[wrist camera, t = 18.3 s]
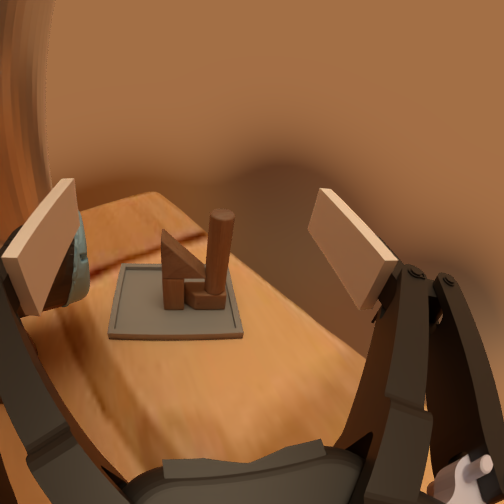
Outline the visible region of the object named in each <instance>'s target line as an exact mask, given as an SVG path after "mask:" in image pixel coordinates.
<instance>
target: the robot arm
mask: <svg viewBox="0 0 504 504" xmlns="http://www.w3.org/2000/svg"><path fill="white" fill-rule="evenodd" d="M54 4H55V0H0V403H3V404H4V406H5V408H6V411H7V413H8V415H9V417H10V419H11V421H12V424H13V426H14V428H15V430H16V432H17V434H18V436H19V438H20V439H21V441H22V443H23V445H24V447H25V449H26V451H27V454H28V456H27V457H26V462H27V465H28V467H29V469H30V471H31V473H32V475H33V476H34V478H35V479H36V481H37V482H38V484H39V485H40V487H41V488H42V490H43V491H44V493H45V494H46V496H47V497H48V498H49V500H50V501H51V503H52V504H495V503H497V502H500V501H502V500H504V420H503V415H502V410H501V405H500V401H499V397H498V393H497V389H496V385H495V381H494V378H493V374H492V371H491V368H490V364H489V361H488V358H487V355H486V352H485V349H484V346H483V343H482V340H481V337H480V335H479V332H478V329H477V327H476V324H475V322H474V319H473V317H472V314H471V312H470V309H469V307H468V305H467V302H466V300H465V298H464V295H463V293H462V291H461V289H460V287H459V285H458V283H457V282H456V281H455V279H454V278H453V277H452V276H451V275H449V274H446V273H439V274H438V276H437V277H436V279H435V281H434V280H429V279H427V277H426V275H425V274H424V273H423V272H422V271H421V270H420V269H419V268H417V267H415V266H413V265H409V264H406V265H404V264H403V263H402V262H401V261H400V259H399V258H398V257H397V256H396V255H395V254H394V253H393V251H392V250H390V248H389V247H388V246H387V245H386V244H385V242H383V240H382V239H381V238H380V237H378V236H377V235H376V234H374V233H373V232H372V231H371V230H370V228H369V227H368V226H367V225H366V224H365V223H364V222H363V221H362V220H361V219H360V218H359V217H358V216H357V215H356V214H355V213H354V212H353V211H352V210H351V209H350V208H349V206H348V205H347V204H345V202H344V201H343V200H341V199H340V197H338V196H337V194H335V193H334V192H333V191H332V190H331V189H324V188H320V189H319V192H318V195H317V199H316V202H315V206H314V210H313V213H312V216H311V220H310V223H309V226H308V231H309V233H310V234H311V236H312V237H313V239H314V240H315V242H316V243H317V245H318V246H319V248H320V249H321V251H322V253H323V254H324V256H325V257H326V259H327V260H328V262H329V263H330V265H331V266H332V268H333V270H334V271H335V273H336V274H337V276H338V277H339V279H340V281H341V282H342V284H343V285H344V287H345V289H346V290H347V292H348V293H349V295H350V296H351V298H352V300H353V302H354V303H355V305H356V306H357V308H358V310H368V309H372V308H373V306H374V305H375V303H376V301H377V300H378V299H379V301H380V302H381V304H382V305H381V307H380V308H379V310H378V312H377V314H376V315H375V317H374V319H373V320H372V323H374V321H375V320H376V323H375V327H374V332H373V336H372V340H371V345H370V348H369V352H368V356H367V359H366V363H365V367H364V370H363V374H362V377H361V380H360V384H359V387H358V390H357V393H356V396H355V399H354V402H353V405H352V408H351V411H350V414H349V417H348V420H347V423H346V425H345V428H344V430H343V433H342V434H341V436H340V437H339V439H338V440H337V442H336V443H335V445H334V446H333V447H329V446H323V443H322V440H321V439H318V440H314V441H310V442H306V443H302V444H298V445H293V446H288V447H285V448H283V449H281V450H279V451H276V452H274V453H272V454H270V455H268V456H265V457H263V458H261V459H258V460H256V461H253V462H251V463H237V462H227V461H219V460H212V459H205V458H199V459H169V460H162V462H163V466H162V467H158V468H154V469H151V470H149V471H146V472H144V473H142V474H140V475H138V476H137V477H136V478H134V479H133V480H131V481H130V482H129V483H128V482H127V481H126V480H125V479H124V478H123V476H122V475H121V474H120V473H119V472H118V471H117V470H116V469H115V468H114V467H113V466H112V465H111V464H110V463H109V462H108V461H107V460H106V459H105V458H104V457H103V456H102V454H101V453H100V452H99V451H98V449H97V448H96V447H95V446H94V444H93V443H92V442H91V441H90V439H89V438H88V437H87V435H86V434H85V433H84V431H83V430H82V429H81V427H80V426H79V424H78V423H77V422H76V420H75V419H74V417H73V416H72V414H71V413H70V411H69V410H68V408H67V407H66V405H65V404H64V402H63V401H62V399H61V397H60V396H59V394H58V392H57V391H56V389H55V387H54V386H53V384H52V382H51V381H50V379H49V377H48V375H47V373H46V372H45V370H44V368H43V366H42V364H41V362H40V360H39V358H38V354H37V350H36V347H35V345H34V343H33V341H32V339H31V337H30V336H29V334H28V333H27V331H26V330H25V329H24V326H23V324H22V322H21V319H20V318H22V317H26V316H29V315H33V316H40V315H41V313H42V312H43V311H47V310H51V309H55V308H58V307H66V306H68V305H69V304H70V303H73V302H76V301H79V300H82V299H83V298H85V297H86V295H87V294H88V291H89V287H90V274H89V263H88V258H87V246H86V238H85V232H84V226H83V221H82V217H81V214H80V212H79V211H78V207H77V198H76V190H75V180H74V178H69V179H61V180H60V182H59V183H58V184H57V185H56V186H55V187H54V188H53V189H52V182H51V175H50V167H49V158H48V147H47V133H46V109H45V108H46V106H45V105H46V104H45V101H46V100H45V99H46V96H45V95H46V94H45V93H46V90H45V89H46V66H47V54H48V44H49V34H50V28H51V21H52V15H53V9H54ZM442 314H443V318H442V321H441V322H440V324H439V322H438V319H439V318H440V317H441V315H442ZM425 392H426V401H427V410H428V411H425V410H424V400H425ZM429 446H430V455H431V464H432V470H433V475H434V479H435V481H433V482H431V483H430V484H429V485H428V487H427V494H426V493H424V492H422V491H420V488H421V484H422V480H423V476H424V471H425V467H426V462H427V457H428V451H429ZM0 504H18V503H17V500H16V497H15V495H14V492H13V489H12V487H11V484H10V482H9V479H8V476H7V473H6V470H5V467H4V464H3V461H2V457H1V454H0Z"/></svg>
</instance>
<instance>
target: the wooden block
mask: <svg viewBox="0 0 504 504" xmlns="http://www.w3.org/2000/svg"><path fill="white" fill-rule="evenodd" d="M234 220H235V215H234V213H233V212H232V211H230V210H227V209H215V210H213V211H212V212H211V214H210V222H209V233H208V244H207V256H206V268H205V265H204V264H203V263H202V262H201V261H200V260H198V259H197V258H196V257H195V256H194V255H193V254H191V253H190V252H189V251H188V250H187V249H186V248H185V247H183V246H182V245H181V244H180V243H179V242H178V241H177V240H176V239H174V238H173V237H172V236H171V235H170V234H169V233H168V232H167V231H165V230H164V229H162V236H161V263H162V288H163V304H164V309H165V310H183V309H184V302H185V303H186V304H187V305H189V306H190V307H192V308H193V309H196V310H204V309H225V304H226V297H227V294H226V289H225V285H226V277H227V270H228V263H229V255H230V248H231V241H232V234H233V227H234ZM184 279H205V282H185V283H184Z"/></svg>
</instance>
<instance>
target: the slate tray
mask: <svg viewBox="0 0 504 504" xmlns="http://www.w3.org/2000/svg"><path fill="white" fill-rule="evenodd" d="M204 265H205V268H206V264H204ZM185 282H205V279H184V283H185ZM225 289H226V294H227V297H226V304H225V309H204V310H196V309H193V308H192V307H190V306H189V305H187V304H186V303H185V302H184V309H183V310H165V309H164V304H163V288H162V264H124V263H122V264H121V268H120V272H119V277H118V281H117V286H116V290H115V295H114V300H113V305H112V310H111V316H110V322H109V327H108V336H109V339H121V340H213V339H236V338H243V333H244V332H243V328H242V324H241V319H240V315H239V311H238V307H237V303H236V298H235V294H234V290H233V285H232V281H231V277H230V272H229V268H228V270H227V277H226V285H225Z"/></svg>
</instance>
